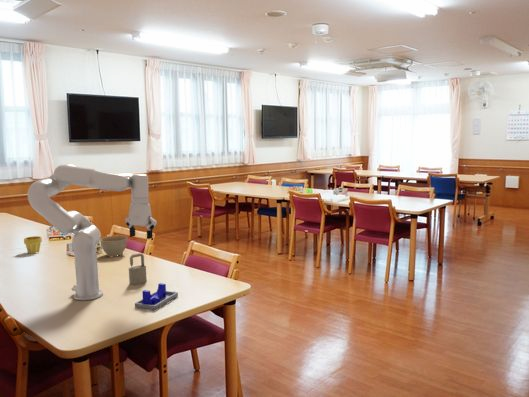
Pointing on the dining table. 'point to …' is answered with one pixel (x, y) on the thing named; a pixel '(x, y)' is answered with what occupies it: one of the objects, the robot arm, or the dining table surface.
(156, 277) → the dining table surface
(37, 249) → the plant pot
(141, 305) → the grey rectangular tray
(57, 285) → the dining table surface
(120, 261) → the dining table surface
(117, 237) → the planter bowl
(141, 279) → the padlock
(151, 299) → the cable clip
